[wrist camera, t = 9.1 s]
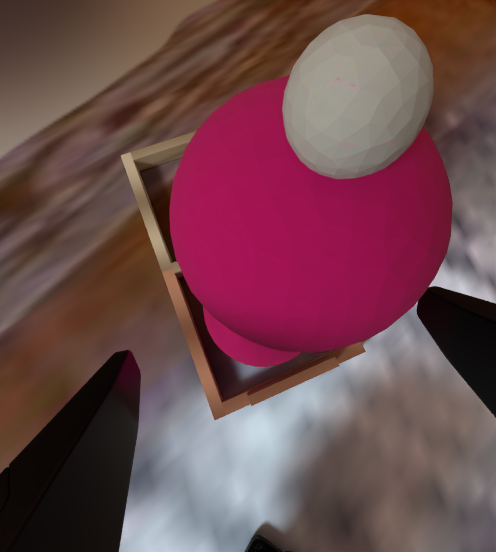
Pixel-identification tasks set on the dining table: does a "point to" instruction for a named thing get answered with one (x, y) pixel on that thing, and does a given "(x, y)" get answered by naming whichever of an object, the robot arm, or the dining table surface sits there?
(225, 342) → the pepper mill
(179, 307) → the rack
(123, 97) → the dining table surface
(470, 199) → the dining table surface
